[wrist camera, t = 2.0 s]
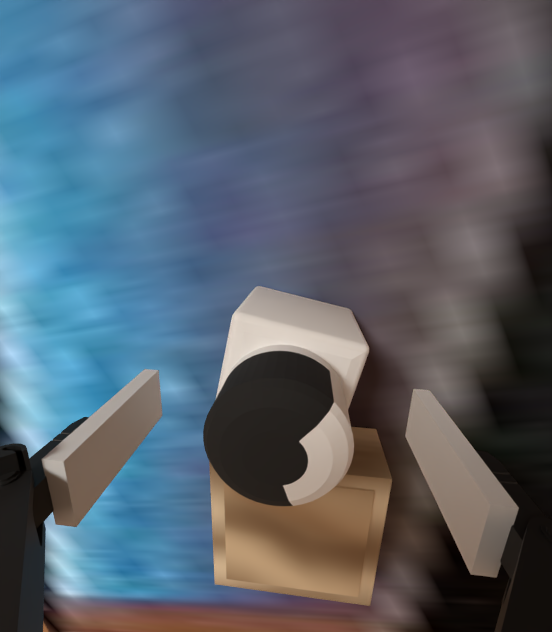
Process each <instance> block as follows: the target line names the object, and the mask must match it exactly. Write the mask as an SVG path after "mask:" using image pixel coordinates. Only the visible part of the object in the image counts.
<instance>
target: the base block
mask: <svg viewBox="0 0 552 632" xmlns="http://www.w3.org/2000/svg"><path fill="white" fill-rule="evenodd" d="M351 428H352V433H353V440H354V453H353V458H352V462H351V465H350V467H349V469H348V471H347V473H346V474H345V476H344V478H343V479H342V480H341V481H340V482H339V483H338V484H337V485H336V486H335V487H334V488H333V489H332V490H330V491H329V492H328V493H327V494H325V495H323V496H322V497H320V498H318V499H316V500H314V501H311V502H308V503H305V504H301V505H295V506H272V505H266V504H262V503H258V502H255V501H253V500H250V499H248V498H246V497H244V496H242V495H240V494H239V493H237V492H236V491H234V490H233V489H231V488H230V487H229V486H228V485H227V484H226V483H225V482H224V481H223V480H222V479H221V478H220V477H219V475H218V474H217V472H216V471H215V470H214V468H213V466H212V465H211V463H210V485H211V508H212V530H213V553H214V576H215V584H218V585H225V586H232V587H240V588H247V589H254V590H261V591H268V592H275V593H282V594H289V595H297V596H304V597H311V598H318V599H325V600H332V601H339V602H346V603H353V604H361V605H368V606H370V602H371V597H372V591H373V585H374V580H375V574H376V569H377V563H378V557H379V552H380V546H381V540H382V535H383V529H384V523H385V518H386V512H387V506H388V501H389V495H390V490H391V484H392V477H391V474H390V471H389V467H388V464H387V461H386V458H385V455H384V452H383V449H382V446H381V443H380V440H379V437H378V433H377V430H376V429H371V428H360V427H351ZM209 462H210V461H209Z"/></svg>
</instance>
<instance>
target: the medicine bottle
mask: <svg viewBox="0 0 552 632" xmlns="http://www.w3.org/2000/svg"><path fill="white" fill-rule="evenodd" d="M368 353H369V346H368V344H367V342H366V340H365V338H364V336H363V334H362V332H361V330H360V328H359V325H358V323H357V321H356V319H355V317H354V315H353V313H352V311H351V310H350V309H348V308H344V307H340V306H336V305H332V304H328V303H324V302H320V301H316V300H312V299H308V298H305V297H301V296H297V295H293V294H289V293H285V292H281V291H277V290H273V289H269V288H265V287H261V286H257V287H255V288H254V290H253V291H252V292H251V293H250V294H249V296H248V297H247V298H246V299H245V300H244V302H243V303H242V304H241V305H240V306H239V308H238V309H237V310H236V311H235V312H234V314H233V316H232V320H231V325H230V330H229V335H228V340H227V345H226V350H225V355H224V360H223V365H222V370H221V375H220V380H219V386H218V391H217V396H216V400H215V402H214V404H213V406H212V407H211V409H210V411H209V413H208V415H207V418H206V421H205V425H204V431H203V439H204V446H205V451H206V454H207V457H208V459H209V461H210V463H211V465H212V466H213V468H214V470H215V471H216V472H217V474H218V475H219V477H220V478H221V479H222V480H223V481H224V482H225V483H226V484H227V485H228V486H229V487H230V488H231V489H233V490H234V491H236V492H237V493H239V494H240V495H242V496H244V497H246V498H248V499H250V500H253V501H255V502H258V503H262V504H266V505H272V506H295V505H301V504H305V503H308V502H311V501H314V500H316V499H318V498H320V497H322V496H323V495H325V494H327V493H328V492H329V491H330V490H332V489H333V488H334V487H335V486H336V485H337V484H338V483H339V482H340V481H341V480H342V479H343V478H344V476H345V474H346V473H347V471H348V469H349V467H350V465H351V462H352V458H353V453H354V440H353V433H352V428H351V424H350V419H349V414H348V409H349V406H350V403H351V400H352V398H353V395H354V392H355V389H356V387H357V384H358V381H359V378H360V376H361V373H362V370H363V367H364V365H365V362H366V359H367V356H368Z"/></svg>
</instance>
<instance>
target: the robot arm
mask: <svg viewBox="0 0 552 632" xmlns="http://www.w3.org/2000/svg"><path fill="white" fill-rule="evenodd" d="M161 416H162V406H161V394H160V382H159V370H148V369H144V370H143V371H142V372H141V373H140V374H139V375H138V376H136V377H135V378H134V379H133V380H132V381H131V382H129V383H128V384H127V385H126V386H125V387H124V388H123V389H121V390H120V391H119V392H118V393H117V394H116V395H115V396H113V397H112V398H111V399H110V400H109V401H108V402H107V403H105V404H104V405H103V406H102V407H101V408H100V409H98V410H97V411H96V412H95V413H94V414H93V415H92V416H90V417H83V418H82V419H80V420H78V421H76V422H74V423H72V424H70V425H69V426H68V427H67V428H66V429H64V430H63V431H62V432H61V434H58V435H57V436H56V437H55V438H54V439H53V441H50V442H49V443H48V444H46V445H45V446H44V447H43V448H42V449H40V450H39V451H38V452H37V453H36V454H34V455H33V456H32V457H31V458H30V459H29V456H28V452H27V448H26V446H25V445H23V444H9V445H4V446H1V447H0V632H43V604H44V567H45V530H46V528H45V524H44V521H45V519H46V518H47V517H48V516H49V515H50V514H51V513H52V512H53V514H54V519H55V523H56V524H57V525H65V526H73V527H77V525H78V524H79V523H80V521H81V520H82V519H83V518H84V516H85V515H86V514H87V512H88V511H89V510H90V508H91V507H92V506H93V505H94V503H95V502H96V501H97V499H98V498H99V497H100V496H101V494H102V493H103V492H104V490H105V489H106V488H107V486H108V485H109V484H110V483H111V481H112V480H113V479H114V477H115V476H116V475H117V473H118V472H119V471H120V470H121V468H122V467H123V466H124V464H125V463H126V462H127V460H128V459H129V458H130V457H131V455H132V454H133V453H134V451H135V450H136V449H137V448H138V446H139V445H140V444H141V442H142V441H143V440H144V438H145V437H146V436H147V435H148V433H149V432H150V431H151V429H152V428H153V427H154V425H155V424H156V423H157V422H158V420H159V419H160V418H161ZM405 437H406V439H407V441H408V443H409V445H410V447H411V450H412V452H413V454H414V456H415V458H416V460H417V462H418V464H419V466H420V469H421V471H422V473H423V475H424V477H425V479H426V481H427V483H428V485H429V488H430V490H431V492H432V494H433V496H434V498H435V500H436V502H437V504H438V506H439V509H440V511H441V513H442V515H443V517H444V519H445V521H446V523H447V525H448V528H449V530H450V532H451V534H452V536H453V538H454V540H455V542H456V544H457V547H458V549H459V551H460V553H461V555H462V557H463V559H464V561H465V563H466V566H467V568H468V570H469V572H470V574H471V575H480V576H488V577H496V578H497V575H498V571H499V568H500V565H501V563H502V565H503V567H504V569H505V570H506V572H507V574H508V575H509V577H510V578H509V581H508V584H507V587H506V590H505V593H504V596H503V599H502V601H501V603H502V606H501V610H500V614H499V617H498V621H497V625H496V629H495V632H552V519H549V518H546V516H545V515H544V514H543V513H542V511H541V510H540V509H539V508H538V507H537V505H536V504H535V503H534V502H533V501H532V499H531V498H530V497H529V496H528V495H527V493H526V492H525V491H524V490H523V489H522V487H521V486H520V485H518V484H517V481H516V480H515V479H514V478H513V477H512V475H510V473H509V472H508V470H507V469H506V468H505V467H504V466H503V464H502V463H501V462H500V461H499V460H497V459H496V458H495V457H493V456H492V455H491V454H489V453H488V452H484V451H475V449H474V448H473V447H472V446H471V444H470V443H469V442H468V440H467V439H466V438H465V436H464V435H463V434H462V432H461V431H460V430H459V428H458V427H457V426H456V424H455V423H454V422H453V420H452V419H451V418H450V417H449V415H448V414H447V413H446V411H445V410H444V409H443V407H442V406H441V405H440V403H439V402H438V401H437V399H436V398H435V397H434V395H433V394H432V393H431V392H430V390H421V389H413V394H412V400H411V406H410V411H409V417H408V423H407V429H406V434H405Z"/></svg>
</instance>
